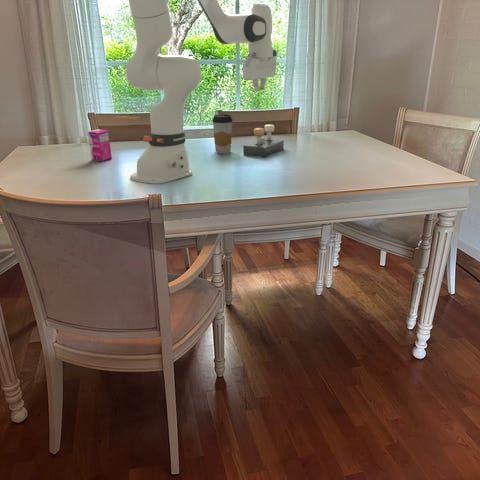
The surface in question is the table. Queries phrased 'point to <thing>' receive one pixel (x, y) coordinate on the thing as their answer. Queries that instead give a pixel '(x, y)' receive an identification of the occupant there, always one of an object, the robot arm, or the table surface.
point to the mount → (263, 148)
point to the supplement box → (99, 145)
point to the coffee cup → (222, 133)
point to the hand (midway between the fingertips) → (259, 90)
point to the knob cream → (269, 131)
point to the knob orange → (259, 134)
